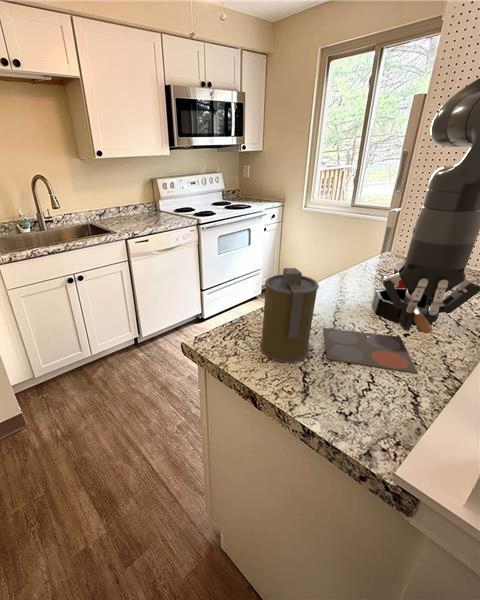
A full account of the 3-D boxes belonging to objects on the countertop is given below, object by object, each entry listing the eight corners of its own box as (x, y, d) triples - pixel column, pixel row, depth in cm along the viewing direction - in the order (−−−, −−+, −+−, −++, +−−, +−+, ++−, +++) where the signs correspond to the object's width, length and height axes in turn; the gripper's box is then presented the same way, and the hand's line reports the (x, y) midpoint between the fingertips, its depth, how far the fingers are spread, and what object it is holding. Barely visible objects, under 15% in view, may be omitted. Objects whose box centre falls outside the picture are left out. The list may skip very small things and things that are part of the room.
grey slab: (399, 337, 74) (400, 336, 74) (417, 373, 63) (417, 372, 62) (323, 328, 80) (323, 327, 80) (327, 359, 69) (327, 358, 69)
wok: (425, 305, 64) (431, 288, 63) (459, 352, 50) (468, 331, 49) (369, 300, 68) (373, 283, 67) (386, 342, 54) (392, 322, 53)
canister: (256, 337, 79) (262, 264, 71) (300, 337, 77) (311, 262, 69) (264, 363, 70) (272, 282, 61) (314, 364, 68) (329, 280, 59)
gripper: (395, 241, 49) (371, 334, 56) (516, 243, 43) (471, 346, 51) (385, 230, 55) (364, 315, 63) (490, 231, 50) (453, 324, 57)
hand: (412, 329), depth 57 cm, fingers closed on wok
